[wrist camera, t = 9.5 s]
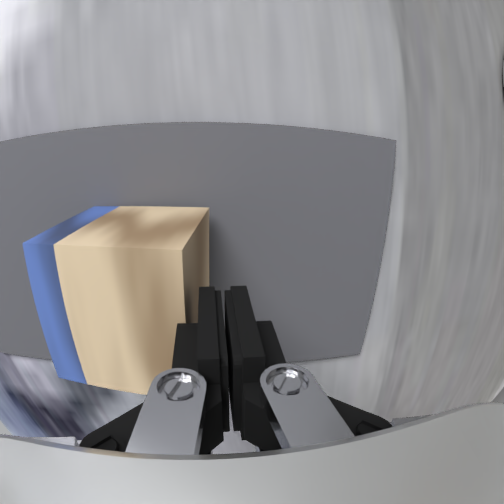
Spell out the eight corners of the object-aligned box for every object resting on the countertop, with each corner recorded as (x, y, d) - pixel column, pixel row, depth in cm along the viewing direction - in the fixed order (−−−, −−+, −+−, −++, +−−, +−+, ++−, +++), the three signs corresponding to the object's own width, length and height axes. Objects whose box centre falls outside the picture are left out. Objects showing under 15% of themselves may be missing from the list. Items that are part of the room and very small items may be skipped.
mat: (391, 140, 16) (396, 140, 16) (357, 349, 21) (360, 353, 20) (-38, 151, 12) (-43, 152, 12) (0, 348, 17) (-2, 351, 16)
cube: (182, 249, 9) (22, 243, 9) (192, 400, 11) (58, 377, 11) (209, 207, 15) (93, 206, 15) (210, 319, 17) (107, 311, 17)
